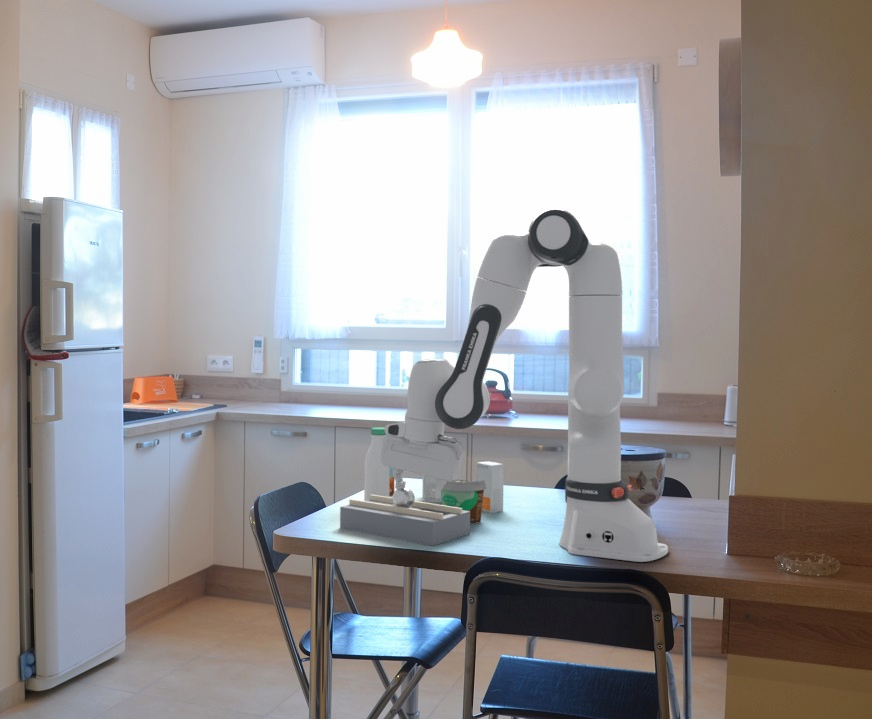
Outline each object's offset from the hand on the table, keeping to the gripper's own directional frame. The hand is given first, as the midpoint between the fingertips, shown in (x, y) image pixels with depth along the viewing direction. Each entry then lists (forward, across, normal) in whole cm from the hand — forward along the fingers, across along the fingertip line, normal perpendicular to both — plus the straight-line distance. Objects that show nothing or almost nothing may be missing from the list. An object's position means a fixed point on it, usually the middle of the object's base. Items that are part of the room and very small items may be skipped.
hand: (417, 493), depth 191 cm
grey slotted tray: (+9, +4, -2) cm, 10 cm away
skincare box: (+8, +1, -32) cm, 33 cm away
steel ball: (+2, +4, -1) cm, 5 cm away
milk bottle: (+11, +26, -21) cm, 35 cm away
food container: (+9, 0, -16) cm, 19 cm away
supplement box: (+10, +18, -35) cm, 40 cm away
